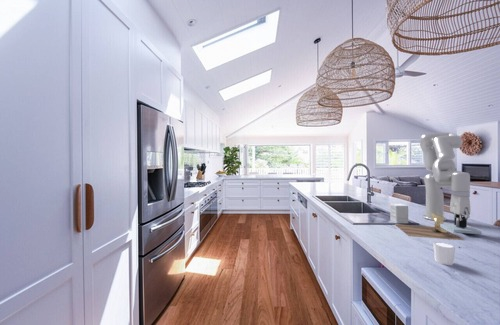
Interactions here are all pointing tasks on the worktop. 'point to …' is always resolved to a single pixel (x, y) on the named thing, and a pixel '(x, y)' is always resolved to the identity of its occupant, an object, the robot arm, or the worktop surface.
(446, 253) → the shot glass
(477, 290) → the worktop surface
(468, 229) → the lid
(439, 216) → the key
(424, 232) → the board
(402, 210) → the supplement box
